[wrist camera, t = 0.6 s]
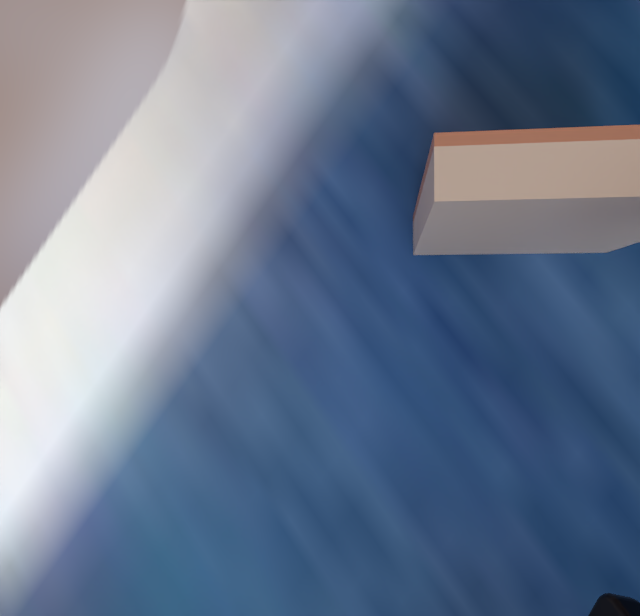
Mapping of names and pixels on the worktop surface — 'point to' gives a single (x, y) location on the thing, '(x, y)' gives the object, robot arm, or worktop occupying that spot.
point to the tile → (530, 192)
